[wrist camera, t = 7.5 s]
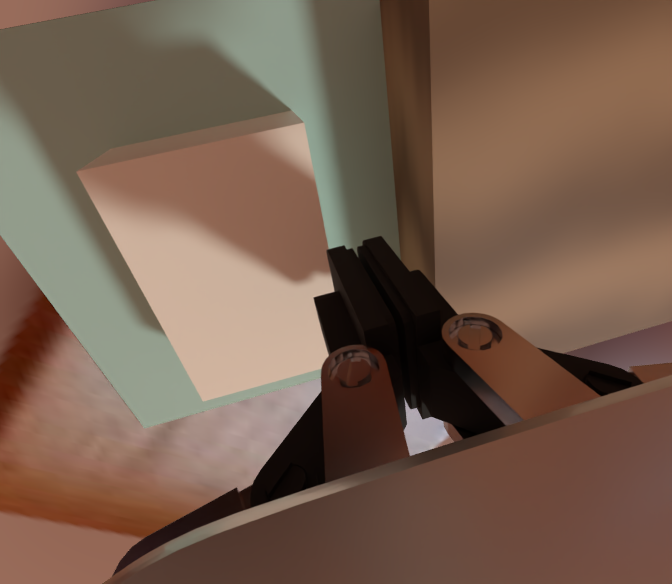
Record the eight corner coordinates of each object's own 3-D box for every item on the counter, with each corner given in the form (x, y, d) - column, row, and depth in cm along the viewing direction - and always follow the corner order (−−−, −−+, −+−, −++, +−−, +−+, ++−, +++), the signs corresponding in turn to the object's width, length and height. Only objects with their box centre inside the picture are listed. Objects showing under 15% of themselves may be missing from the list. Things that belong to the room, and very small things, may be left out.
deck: (375, 3, 12) (428, -20, 8) (707, -63, 13) (870, -107, 9) (404, 334, 19) (437, 390, 16) (608, 276, 20) (679, 318, 17)
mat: (-122, 55, 10) (-135, 54, 10) (372, -39, 11) (376, -42, 11) (146, 422, 19) (144, 428, 18) (405, 348, 20) (408, 353, 20)
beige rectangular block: (304, 122, 10) (291, 110, 12) (76, 171, 9) (110, 148, 12) (350, 360, 15) (334, 318, 17) (203, 401, 14) (208, 351, 17)
